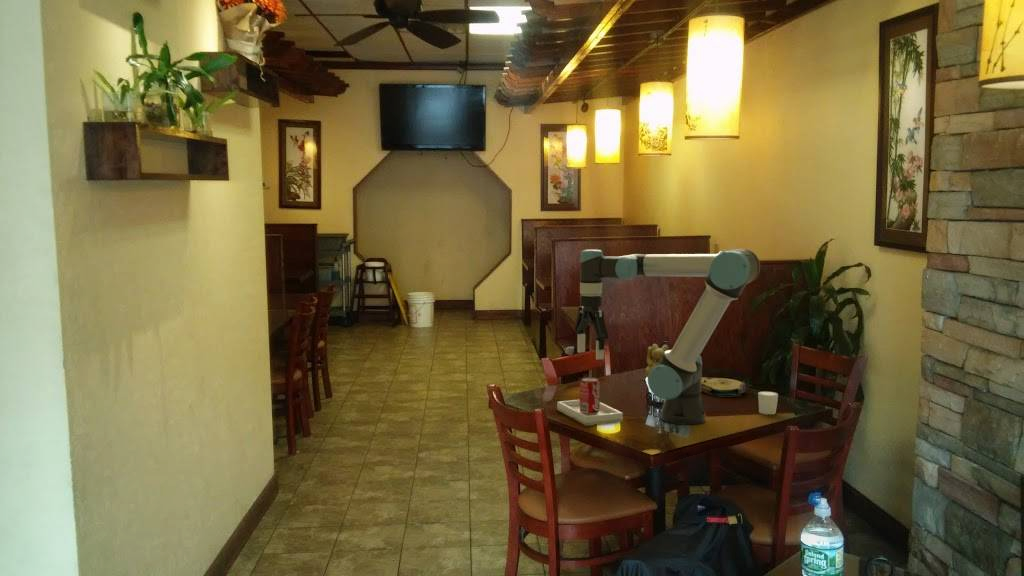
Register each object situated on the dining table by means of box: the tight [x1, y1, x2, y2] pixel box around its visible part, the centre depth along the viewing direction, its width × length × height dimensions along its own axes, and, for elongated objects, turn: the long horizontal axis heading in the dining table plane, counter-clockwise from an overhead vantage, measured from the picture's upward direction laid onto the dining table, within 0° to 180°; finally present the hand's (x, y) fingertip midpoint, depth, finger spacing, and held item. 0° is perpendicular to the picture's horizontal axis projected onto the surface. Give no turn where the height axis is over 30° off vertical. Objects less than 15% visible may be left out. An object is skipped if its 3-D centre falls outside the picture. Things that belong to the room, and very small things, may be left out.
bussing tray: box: [556, 399, 624, 427], centre depth 290 cm, size 22×14×3 cm, turn 23°
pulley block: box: [701, 376, 753, 398], centre depth 328 cm, size 14×6×30 cm
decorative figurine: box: [645, 343, 669, 377], centre depth 346 cm, size 10×8×15 cm
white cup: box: [757, 390, 779, 416], centre depth 295 cm, size 7×7×7 cm
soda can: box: [579, 376, 601, 415], centre depth 289 cm, size 7×7×12 cm
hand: (590, 355), depth 288 cm, fingers open, 13 cm apart
